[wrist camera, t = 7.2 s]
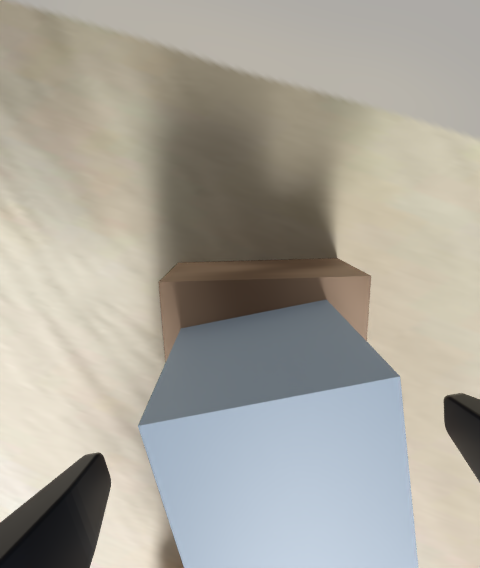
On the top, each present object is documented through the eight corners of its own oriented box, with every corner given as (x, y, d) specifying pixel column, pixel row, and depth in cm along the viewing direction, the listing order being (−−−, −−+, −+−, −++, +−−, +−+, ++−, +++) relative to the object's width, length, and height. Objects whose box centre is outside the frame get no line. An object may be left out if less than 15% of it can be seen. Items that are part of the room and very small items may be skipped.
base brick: (335, 257, 15) (371, 276, 11) (329, 396, 16) (358, 456, 12) (179, 261, 15) (158, 282, 11) (189, 400, 16) (174, 461, 12)
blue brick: (326, 299, 11) (400, 376, 6) (345, 426, 12) (419, 576, 7) (180, 328, 11) (137, 426, 6) (213, 450, 12) (198, 612, 7)
